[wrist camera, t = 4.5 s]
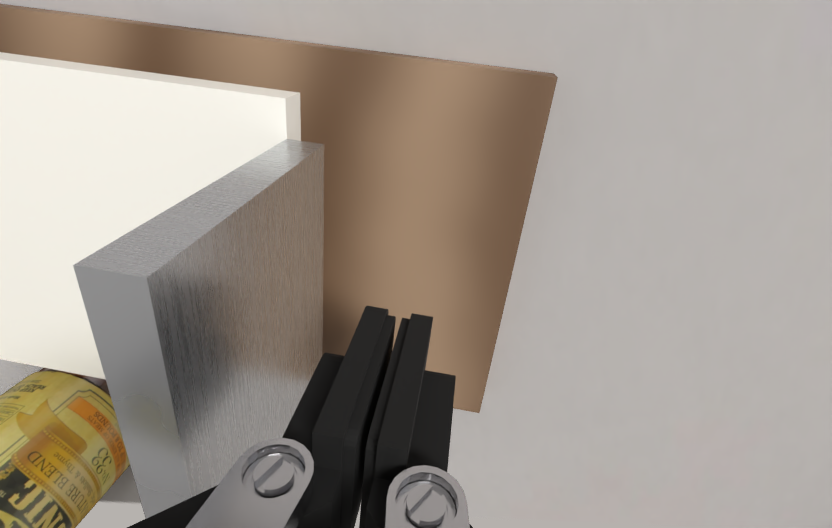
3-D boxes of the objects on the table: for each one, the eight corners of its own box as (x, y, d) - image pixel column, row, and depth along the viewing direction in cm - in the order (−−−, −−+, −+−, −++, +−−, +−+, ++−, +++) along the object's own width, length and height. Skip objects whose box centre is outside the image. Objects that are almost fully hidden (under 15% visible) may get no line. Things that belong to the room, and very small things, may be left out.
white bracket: (353, 89, 14) (131, 203, 5) (342, 371, 19) (223, 653, 11) (-73, 32, 15) (-809, 53, 6) (28, 314, 20) (-306, 527, 12)
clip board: (553, 73, 14) (557, 77, 13) (479, 395, 20) (479, 412, 19) (-214, -24, 16) (-255, -26, 15) (-65, 295, 22) (-88, 307, 21)
